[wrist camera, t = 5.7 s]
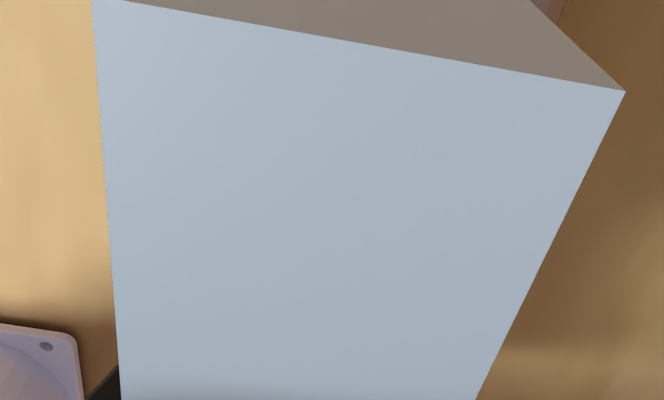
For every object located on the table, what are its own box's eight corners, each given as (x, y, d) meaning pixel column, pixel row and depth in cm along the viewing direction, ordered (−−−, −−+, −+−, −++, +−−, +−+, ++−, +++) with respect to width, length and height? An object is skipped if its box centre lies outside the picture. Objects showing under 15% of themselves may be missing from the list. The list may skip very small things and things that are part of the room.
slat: (212, 455, 17) (145, 720, 12) (253, -94, 8) (89, -6, 3) (325, 472, 17) (308, 740, 12) (473, -53, 9) (625, 92, 4)
